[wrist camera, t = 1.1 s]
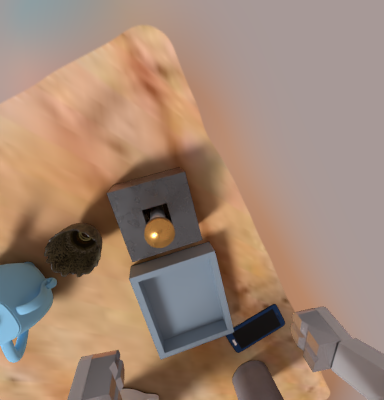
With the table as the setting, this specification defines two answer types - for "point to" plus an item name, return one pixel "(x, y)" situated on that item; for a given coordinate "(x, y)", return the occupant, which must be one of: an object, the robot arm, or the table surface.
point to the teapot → (21, 304)
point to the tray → (182, 299)
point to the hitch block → (150, 197)
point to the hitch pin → (159, 228)
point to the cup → (74, 250)
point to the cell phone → (256, 328)
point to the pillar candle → (255, 382)
